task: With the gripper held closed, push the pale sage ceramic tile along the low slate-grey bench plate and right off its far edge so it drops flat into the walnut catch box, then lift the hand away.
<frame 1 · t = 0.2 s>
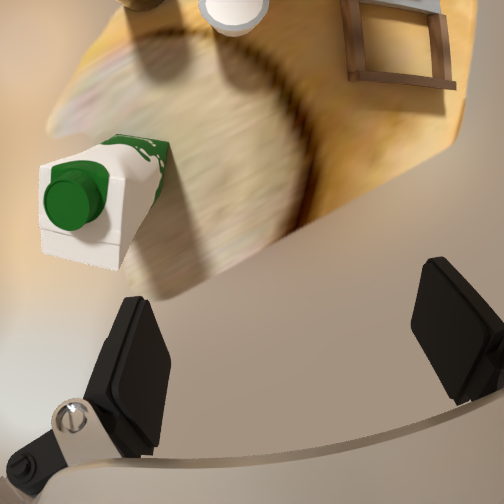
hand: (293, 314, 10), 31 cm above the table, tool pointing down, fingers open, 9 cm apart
white cup: (234, 16, 30), on the table
milk carton: (138, 164, 38), on the table
catch box: (395, 44, 31), on the table
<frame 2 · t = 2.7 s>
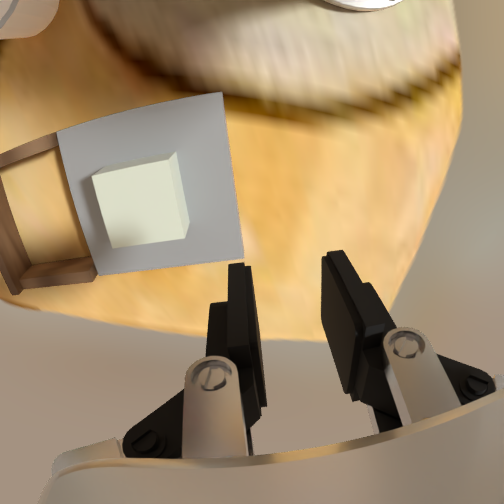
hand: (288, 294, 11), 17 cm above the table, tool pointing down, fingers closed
bench plate: (153, 186, 26), on the table
white cup: (36, 10, 17), on the table
catch box: (41, 210, 26), on the table
tile: (147, 193, 25), point 2 cm above the table, touching bench plate
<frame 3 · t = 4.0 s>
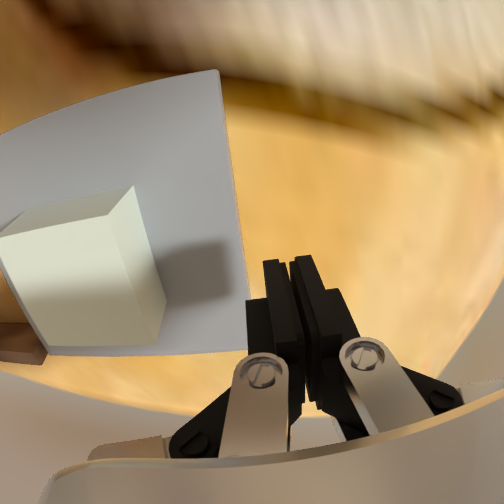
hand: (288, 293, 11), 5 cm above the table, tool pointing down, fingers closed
bench plate: (107, 236, 16), on the table
tile: (93, 255, 14), point 2 cm above the table, touching bench plate
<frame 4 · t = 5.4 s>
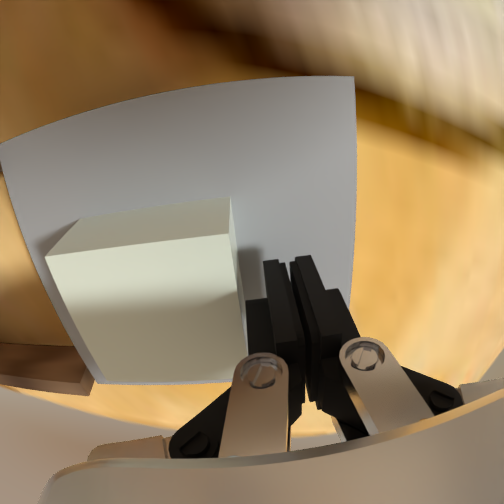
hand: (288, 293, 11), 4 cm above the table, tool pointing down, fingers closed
bench plate: (187, 251, 14), on the table
tile: (166, 276, 13), point 2 cm above the table, touching bench plate, gripper
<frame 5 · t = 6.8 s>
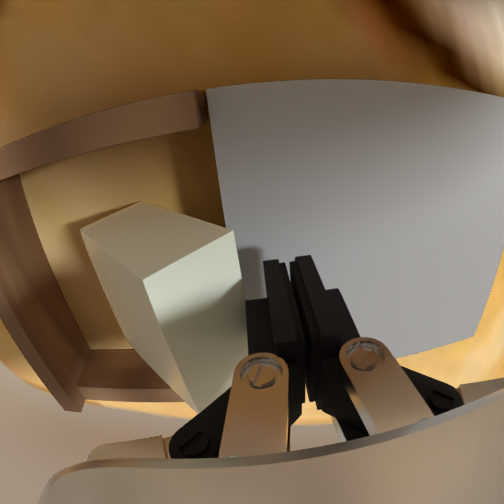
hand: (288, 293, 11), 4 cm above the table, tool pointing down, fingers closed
bench plate: (381, 232, 14), on the table
catch box: (120, 262, 14), on the table
tile: (195, 282, 13), point 2 cm above the table, tilted 48°, touching gripper
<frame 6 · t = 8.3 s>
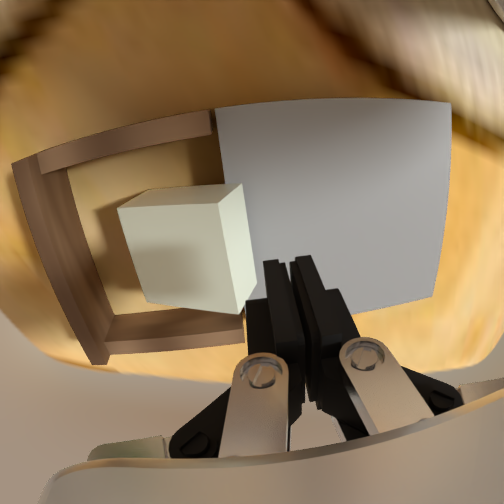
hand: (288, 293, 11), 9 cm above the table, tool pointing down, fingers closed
bench plate: (342, 208, 20), on the table
catch box: (146, 236, 19), on the table
tile: (201, 235, 18), point 1 cm above the table, tilted 24°, touching bench plate
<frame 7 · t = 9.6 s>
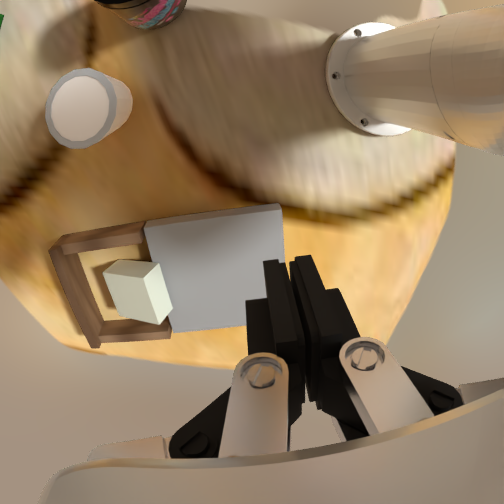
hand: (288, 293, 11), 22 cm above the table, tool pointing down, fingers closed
supplement container: (154, 2, 23), on the table
bench plate: (221, 269, 36), on the table
white cup: (107, 104, 27), on the table
catch box: (119, 281, 36), on the table
tile: (145, 283, 35), point 1 cm above the table, tilted 24°, touching bench plate
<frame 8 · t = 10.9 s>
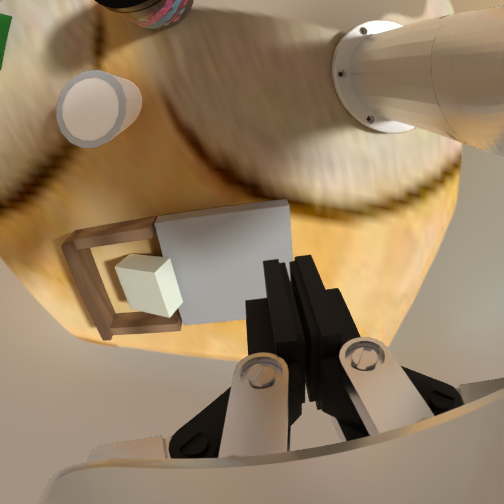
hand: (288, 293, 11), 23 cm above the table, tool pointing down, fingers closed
supplement container: (161, 2, 23), on the table
bench plate: (230, 263, 37), on the table
white cup: (117, 103, 28), on the table
catch box: (130, 275, 37), on the table
tile: (156, 277, 36), point 1 cm above the table, tilted 24°, touching bench plate
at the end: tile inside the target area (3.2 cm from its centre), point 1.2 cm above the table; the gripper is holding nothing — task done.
